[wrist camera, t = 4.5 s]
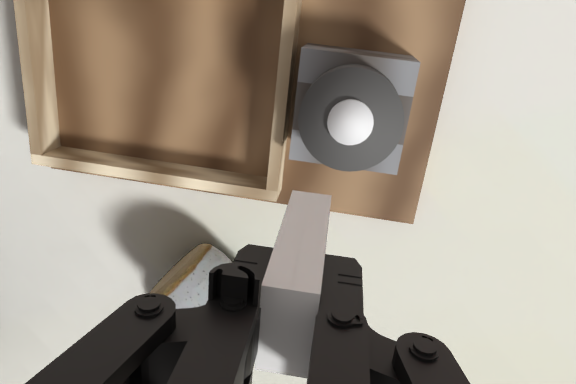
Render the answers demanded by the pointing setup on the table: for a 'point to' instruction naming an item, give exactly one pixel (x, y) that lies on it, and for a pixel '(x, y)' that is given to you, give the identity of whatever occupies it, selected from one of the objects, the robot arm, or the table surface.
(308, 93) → the wheel
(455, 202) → the table surface
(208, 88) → the board
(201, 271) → the ceramic mug
